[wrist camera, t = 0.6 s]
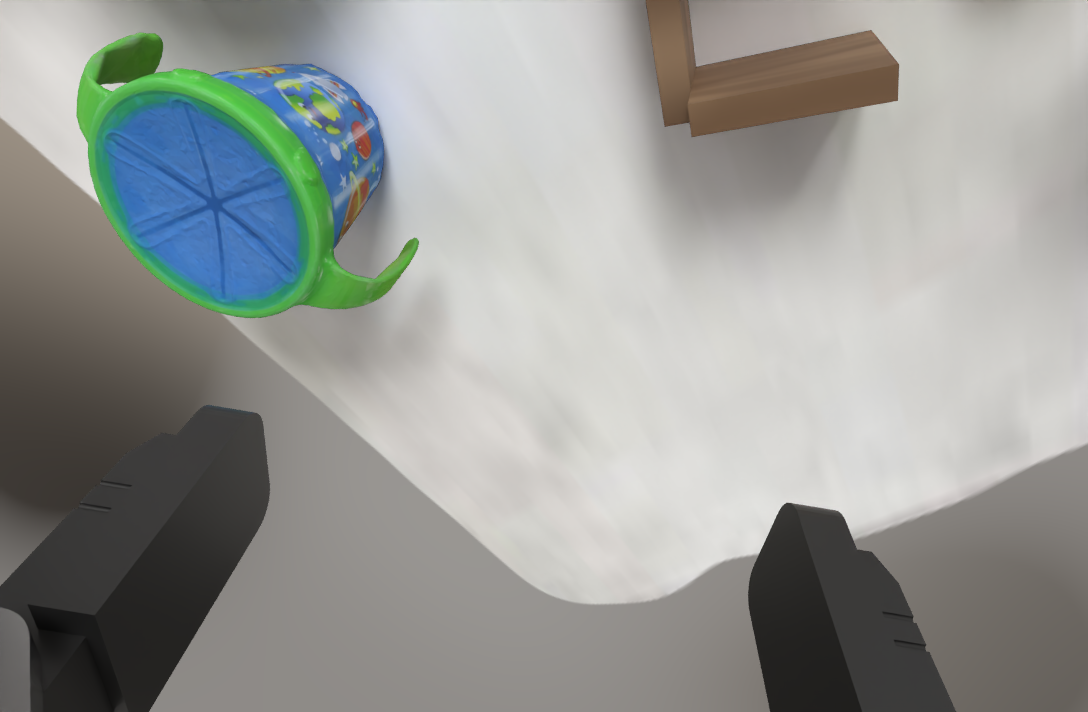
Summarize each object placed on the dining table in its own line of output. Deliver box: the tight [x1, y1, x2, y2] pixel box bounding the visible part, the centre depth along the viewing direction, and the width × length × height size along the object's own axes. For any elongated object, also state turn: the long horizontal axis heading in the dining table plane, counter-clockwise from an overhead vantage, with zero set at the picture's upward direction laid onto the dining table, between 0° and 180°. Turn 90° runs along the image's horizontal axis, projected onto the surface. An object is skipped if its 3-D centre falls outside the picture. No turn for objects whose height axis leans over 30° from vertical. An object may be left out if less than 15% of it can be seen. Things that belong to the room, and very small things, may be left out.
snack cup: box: [77, 33, 419, 318], centre depth 32 cm, size 16×10×10 cm
